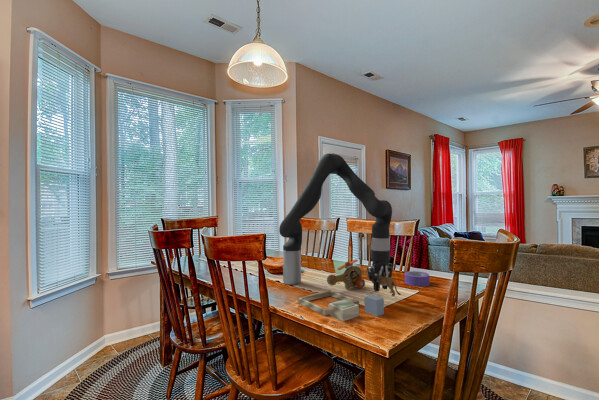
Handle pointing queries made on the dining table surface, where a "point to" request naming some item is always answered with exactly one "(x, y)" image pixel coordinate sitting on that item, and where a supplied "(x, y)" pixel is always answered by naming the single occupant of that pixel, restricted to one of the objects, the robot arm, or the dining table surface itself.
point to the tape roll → (417, 278)
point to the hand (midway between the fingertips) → (380, 289)
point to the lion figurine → (387, 283)
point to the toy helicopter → (348, 276)
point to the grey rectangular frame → (333, 305)
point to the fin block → (374, 305)
